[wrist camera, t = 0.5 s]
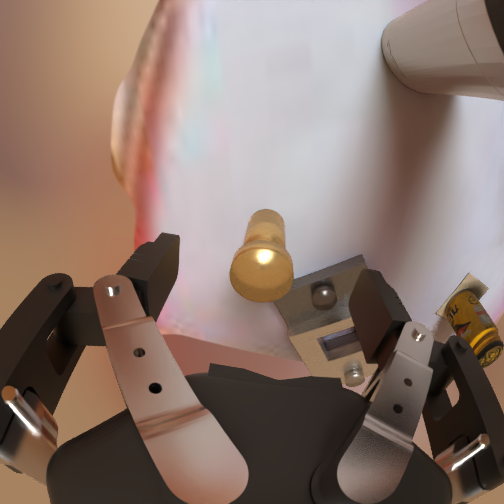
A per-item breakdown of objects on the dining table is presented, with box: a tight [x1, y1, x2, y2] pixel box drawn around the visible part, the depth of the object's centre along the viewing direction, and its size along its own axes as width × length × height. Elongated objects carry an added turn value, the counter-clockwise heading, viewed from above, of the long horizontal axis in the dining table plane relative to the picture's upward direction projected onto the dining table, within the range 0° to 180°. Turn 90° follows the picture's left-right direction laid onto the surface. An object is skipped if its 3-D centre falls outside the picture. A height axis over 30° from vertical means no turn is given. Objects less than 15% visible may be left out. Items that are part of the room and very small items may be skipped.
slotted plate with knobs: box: [274, 254, 378, 387], centre depth 35 cm, size 12×20×6 cm, turn 26°
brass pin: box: [230, 209, 294, 302], centre depth 27 cm, size 5×5×10 cm
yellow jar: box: [436, 273, 504, 368], centre depth 29 cm, size 7×8×12 cm
